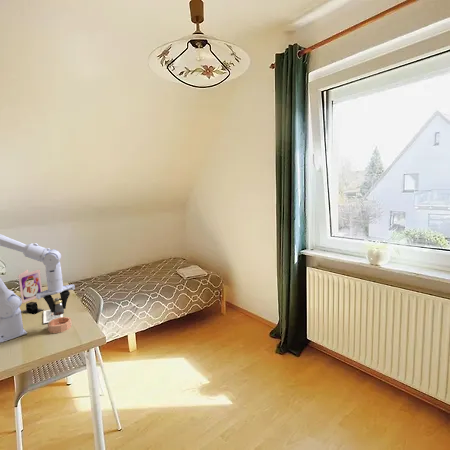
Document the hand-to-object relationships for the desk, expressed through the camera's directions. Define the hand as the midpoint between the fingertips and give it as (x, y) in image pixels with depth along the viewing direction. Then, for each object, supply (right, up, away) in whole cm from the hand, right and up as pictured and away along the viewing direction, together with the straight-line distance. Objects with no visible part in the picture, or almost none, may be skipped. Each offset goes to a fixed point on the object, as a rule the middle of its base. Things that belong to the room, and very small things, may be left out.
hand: (58, 310), depth 134 cm
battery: (0, -2, 0) cm, 2 cm away
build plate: (-23, -7, +20) cm, 31 cm away
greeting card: (-34, -4, +36) cm, 50 cm away
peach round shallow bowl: (0, -8, +1) cm, 8 cm away
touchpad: (-9, -7, +13) cm, 18 cm away
